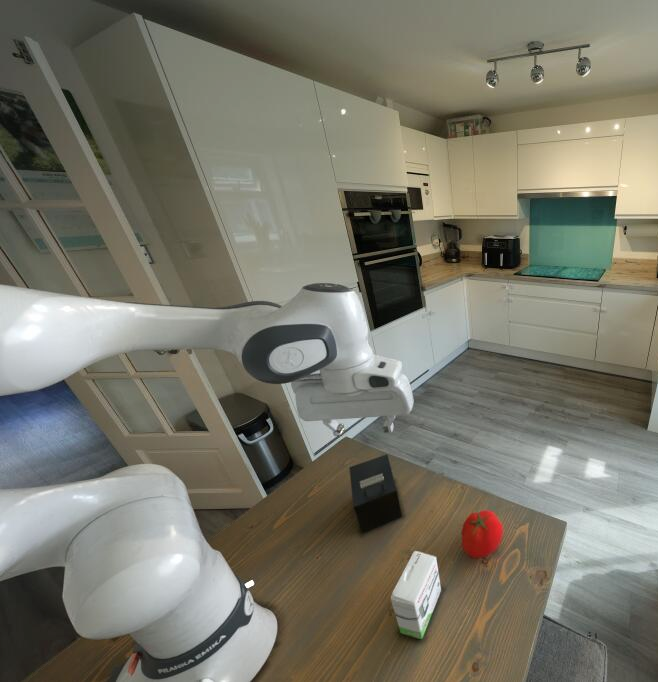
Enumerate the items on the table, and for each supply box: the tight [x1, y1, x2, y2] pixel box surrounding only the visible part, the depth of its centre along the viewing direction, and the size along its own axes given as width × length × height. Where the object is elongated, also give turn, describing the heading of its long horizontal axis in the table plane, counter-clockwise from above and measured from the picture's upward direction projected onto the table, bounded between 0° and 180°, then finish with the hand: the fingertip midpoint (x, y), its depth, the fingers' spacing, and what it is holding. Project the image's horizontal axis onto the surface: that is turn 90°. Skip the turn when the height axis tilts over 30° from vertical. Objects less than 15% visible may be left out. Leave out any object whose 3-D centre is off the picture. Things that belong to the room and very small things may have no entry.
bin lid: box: [349, 453, 398, 510], centre depth 78 cm, size 13×10×5 cm
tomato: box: [461, 509, 504, 559], centre depth 72 cm, size 9×10×8 cm
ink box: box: [390, 550, 442, 640], centre depth 60 cm, size 9×5×12 cm, turn 166°
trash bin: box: [354, 491, 403, 534], centre depth 81 cm, size 13×10×10 cm
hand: (364, 432), depth 62 cm, fingers open, 8 cm apart
